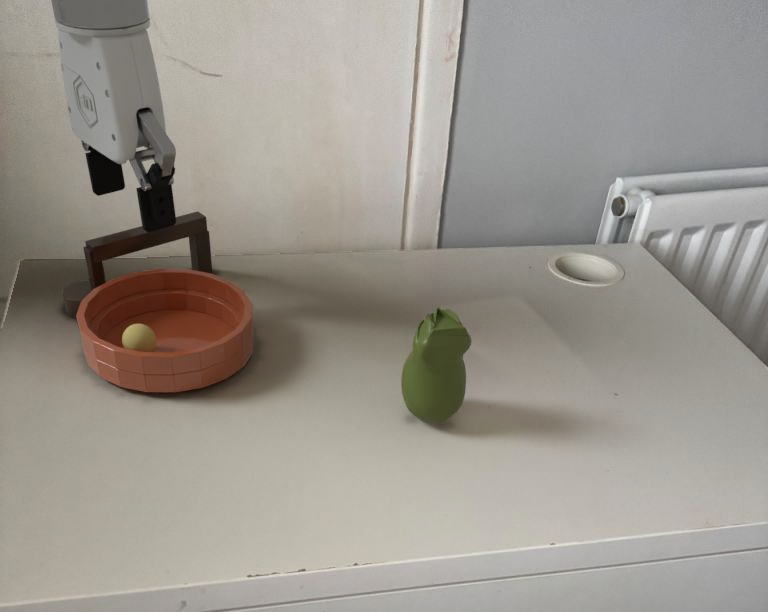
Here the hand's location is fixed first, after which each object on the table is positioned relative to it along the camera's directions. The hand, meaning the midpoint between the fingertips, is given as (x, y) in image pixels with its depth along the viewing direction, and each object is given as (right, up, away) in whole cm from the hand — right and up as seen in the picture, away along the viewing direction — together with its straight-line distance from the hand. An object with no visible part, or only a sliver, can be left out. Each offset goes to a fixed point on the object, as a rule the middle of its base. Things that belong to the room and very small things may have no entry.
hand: (134, 209), depth 80 cm
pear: (+28, -21, -6) cm, 35 cm away
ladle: (-1, -6, +6) cm, 9 cm away
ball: (+2, -13, -4) cm, 14 cm away
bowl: (+4, -14, -1) cm, 14 cm away
